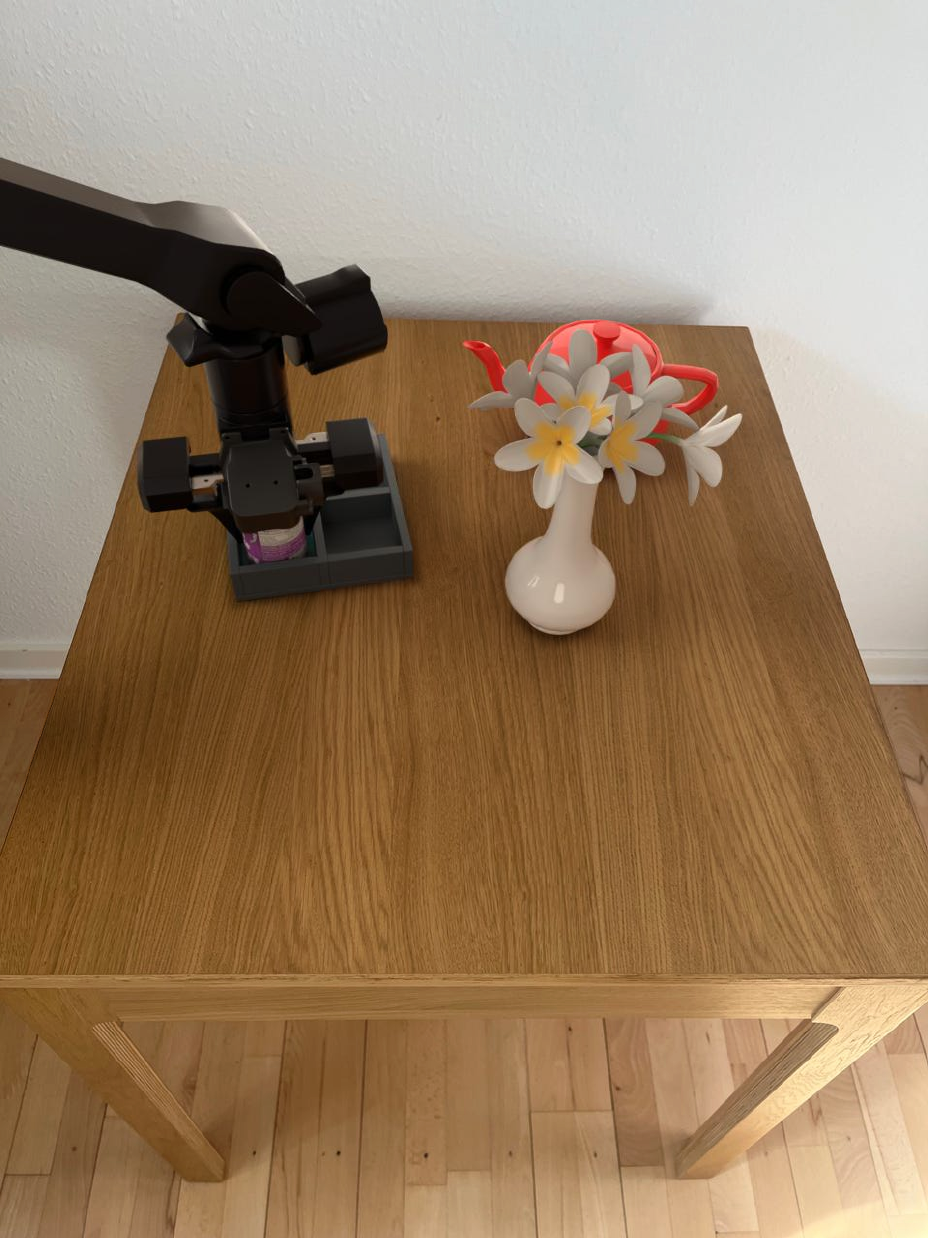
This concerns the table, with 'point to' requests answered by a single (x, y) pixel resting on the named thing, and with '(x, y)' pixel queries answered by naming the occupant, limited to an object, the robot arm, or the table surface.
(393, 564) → the compartment tray
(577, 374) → the flower vase
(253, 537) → the pill bottle
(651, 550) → the table surface
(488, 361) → the teapot
